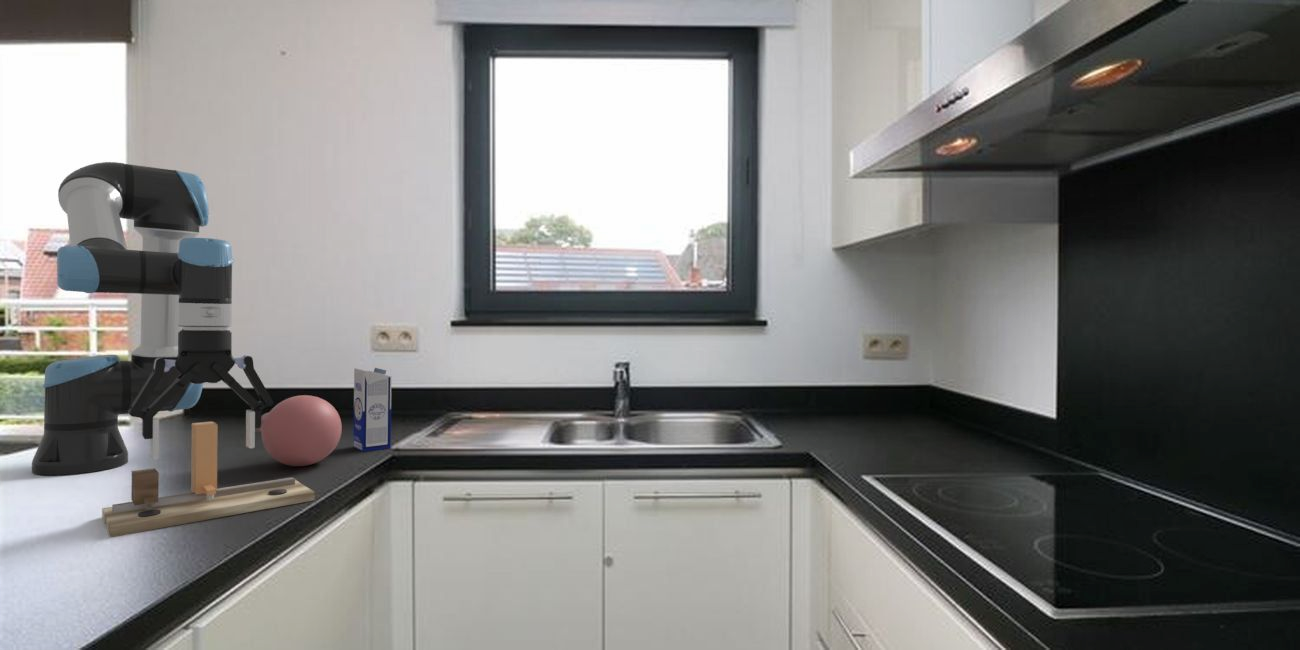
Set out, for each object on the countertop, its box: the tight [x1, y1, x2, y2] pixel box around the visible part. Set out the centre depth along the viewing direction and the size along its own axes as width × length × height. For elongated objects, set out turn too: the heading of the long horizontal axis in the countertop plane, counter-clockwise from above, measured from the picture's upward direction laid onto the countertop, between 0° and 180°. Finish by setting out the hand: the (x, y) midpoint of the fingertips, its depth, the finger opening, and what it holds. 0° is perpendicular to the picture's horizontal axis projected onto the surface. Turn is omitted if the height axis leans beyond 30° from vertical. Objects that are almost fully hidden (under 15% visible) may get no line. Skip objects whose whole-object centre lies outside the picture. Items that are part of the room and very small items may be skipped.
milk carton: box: [352, 367, 392, 452], centre depth 158 cm, size 7×7×20 cm
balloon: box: [255, 394, 343, 467], centre depth 139 cm, size 15×20×15 cm
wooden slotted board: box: [101, 467, 316, 538], centre depth 108 cm, size 12×28×7 cm, turn 135°
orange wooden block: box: [190, 421, 219, 501], centre depth 107 cm, size 8×3×12 cm, turn 45°
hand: (204, 452), depth 108 cm, fingers open, 13 cm apart
